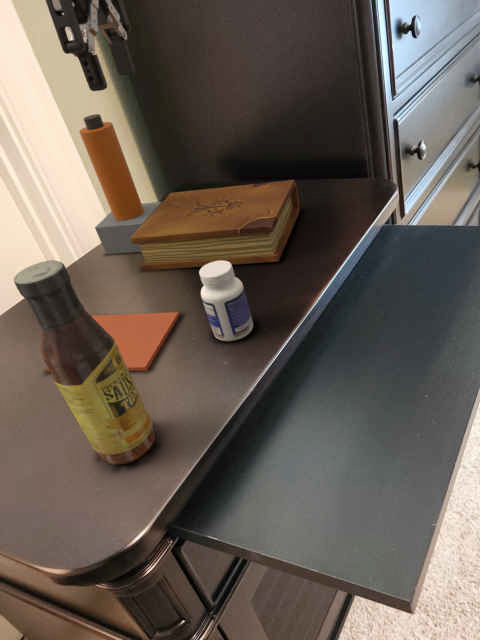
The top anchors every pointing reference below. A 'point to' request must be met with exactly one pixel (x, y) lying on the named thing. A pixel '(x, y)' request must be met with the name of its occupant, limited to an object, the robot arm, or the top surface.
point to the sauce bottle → (86, 366)
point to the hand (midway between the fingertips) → (113, 81)
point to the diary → (219, 226)
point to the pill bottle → (225, 301)
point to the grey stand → (122, 231)
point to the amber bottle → (111, 168)
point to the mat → (138, 335)
